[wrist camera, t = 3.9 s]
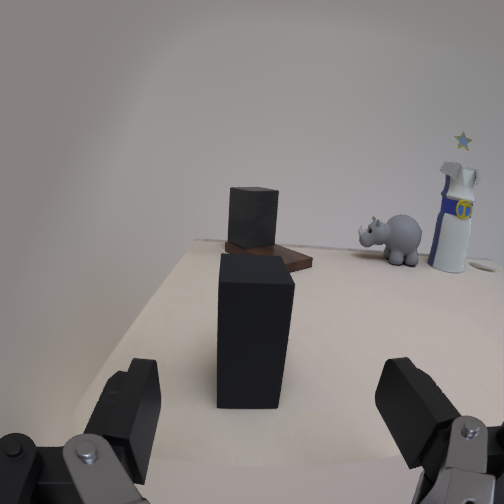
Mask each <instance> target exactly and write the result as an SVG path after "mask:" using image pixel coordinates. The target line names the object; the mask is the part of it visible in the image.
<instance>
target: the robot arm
mask: <svg viewBox="0 0 504 504" xmlns="http://www.w3.org/2000/svg"><path fill="white" fill-rule="evenodd" d="M375 403H376V406H377V408H378V410H379V412H380V414H381V416H382V418H383V420H384V421H385V423H386V425H387V427H388V429H389V431H390V433H391V435H392V437H393V438H394V440H395V442H396V444H397V446H398V448H399V450H400V452H401V454H402V456H403V458H404V459H405V461H406V463H407V465H408V467H409V469H413V468H416V467H420V466H422V467H423V469H424V470H423V472H422V473H421V475H420V478H419V481H418V485H417V488H416V491H415V494H414V497H413V500H412V503H411V504H504V422H503V423H502V425H501V426H495V427H486V426H485V424H484V423H483V422H482V421H481V420H479V419H477V418H475V417H472V416H461V415H460V413H459V412H458V411H457V409H456V408H455V407H454V406H453V404H452V403H451V402H450V401H449V399H448V398H447V397H446V395H445V394H444V393H442V390H441V389H440V388H439V387H438V386H436V383H435V382H434V381H433V379H432V378H431V377H430V376H429V375H428V374H426V373H425V372H423V371H422V370H420V369H417V368H416V367H415V365H414V364H413V363H412V362H411V360H410V359H409V358H407V357H403V358H394V359H388V360H387V361H386V362H385V365H384V368H383V371H382V374H381V377H380V380H379V383H378V386H377V389H376V392H375ZM160 409H161V392H160V384H159V377H158V369H157V362H156V360H149V359H139V358H134V359H133V360H132V362H131V364H130V367H129V369H128V371H127V372H123V371H118V372H116V373H115V374H114V375H113V376H112V377H110V378H109V379H108V381H107V383H106V385H105V387H104V389H103V392H102V393H101V395H100V398H99V401H98V402H97V404H96V406H95V408H94V411H93V413H92V415H91V417H90V419H89V422H88V424H87V426H86V428H85V431H84V433H83V434H80V435H77V436H74V437H72V438H71V439H70V440H69V441H68V442H66V444H65V445H64V446H62V447H36V445H35V444H34V442H33V440H32V439H30V437H28V436H26V435H24V434H20V433H11V434H8V435H5V436H4V437H2V438H1V439H0V504H150V503H149V502H148V500H147V499H146V498H143V497H142V496H141V494H140V493H139V491H138V490H137V488H136V487H135V485H134V483H135V484H141V485H144V484H145V479H146V474H147V469H148V464H149V459H150V455H151V450H152V445H153V441H154V436H155V432H156V427H157V423H158V418H159V414H160Z"/></svg>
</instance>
